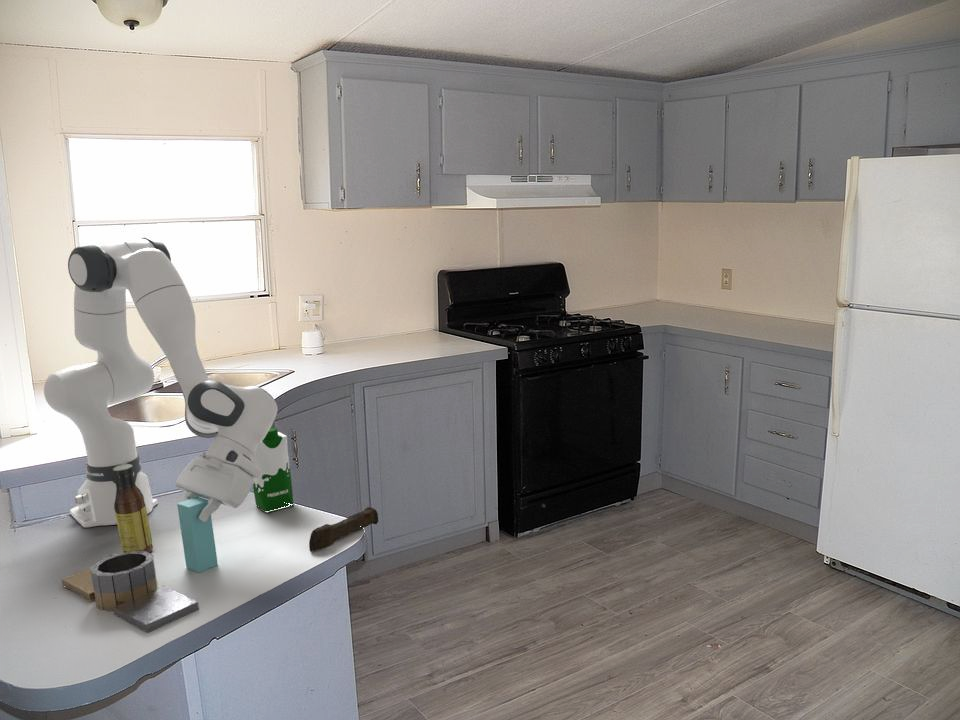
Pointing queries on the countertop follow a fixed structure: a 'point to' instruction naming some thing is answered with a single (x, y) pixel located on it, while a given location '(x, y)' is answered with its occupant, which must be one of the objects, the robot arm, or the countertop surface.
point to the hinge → (131, 590)
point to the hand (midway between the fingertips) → (192, 517)
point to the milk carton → (273, 472)
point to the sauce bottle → (131, 512)
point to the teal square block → (197, 535)
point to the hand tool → (341, 529)
